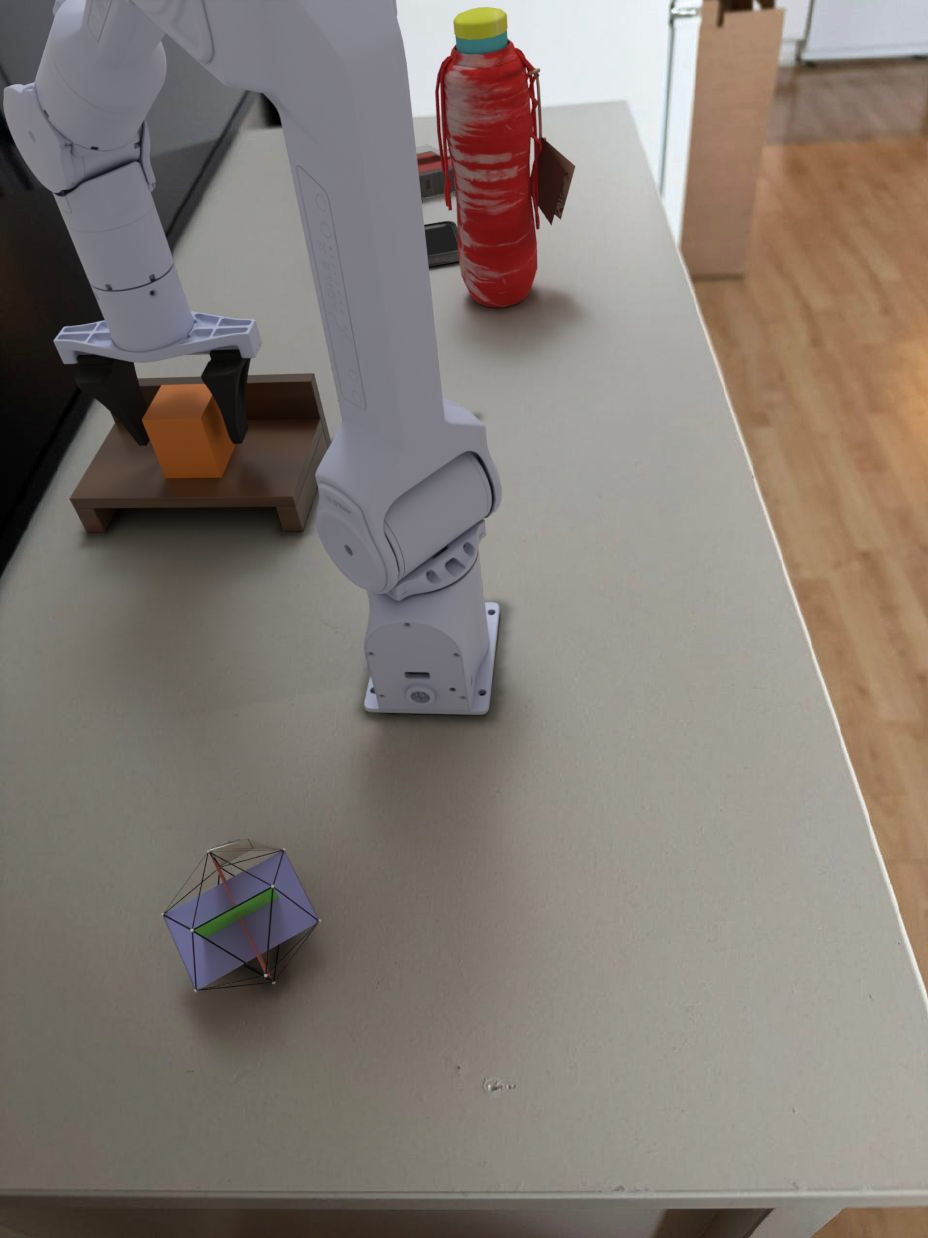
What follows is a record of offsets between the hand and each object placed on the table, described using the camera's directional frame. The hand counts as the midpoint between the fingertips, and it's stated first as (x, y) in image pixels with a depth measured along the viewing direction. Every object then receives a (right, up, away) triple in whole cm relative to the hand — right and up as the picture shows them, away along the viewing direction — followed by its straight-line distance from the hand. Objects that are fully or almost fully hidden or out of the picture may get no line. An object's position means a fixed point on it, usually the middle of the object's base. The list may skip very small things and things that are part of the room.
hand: (193, 437), depth 74 cm
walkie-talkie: (+14, +40, +41) cm, 59 cm away
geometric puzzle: (+10, -32, -23) cm, 40 cm away
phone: (+13, +25, +30) cm, 42 cm away
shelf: (0, -4, +5) cm, 6 cm away
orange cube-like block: (0, -2, +2) cm, 2 cm away
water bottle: (+26, +19, +22) cm, 39 cm away
